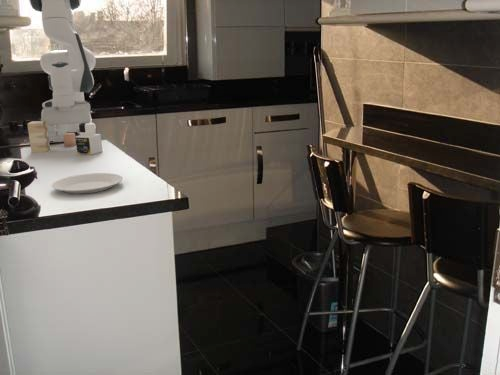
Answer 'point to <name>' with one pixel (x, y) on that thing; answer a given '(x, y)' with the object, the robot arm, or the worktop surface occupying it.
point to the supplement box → (51, 133)
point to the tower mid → (38, 137)
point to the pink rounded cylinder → (69, 139)
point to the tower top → (37, 127)
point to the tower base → (40, 147)
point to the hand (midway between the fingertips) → (68, 134)
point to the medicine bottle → (88, 139)
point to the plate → (87, 183)
